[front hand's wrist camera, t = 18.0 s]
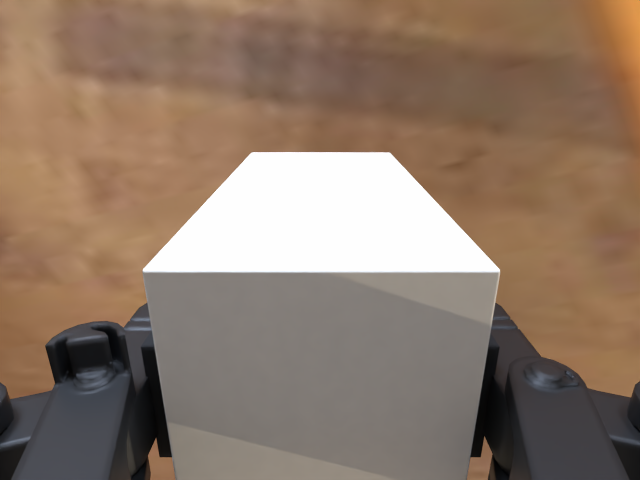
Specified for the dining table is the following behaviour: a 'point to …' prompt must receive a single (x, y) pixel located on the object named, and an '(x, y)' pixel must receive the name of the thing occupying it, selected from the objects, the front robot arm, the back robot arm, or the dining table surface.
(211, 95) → the dining table surface
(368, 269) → the brick
